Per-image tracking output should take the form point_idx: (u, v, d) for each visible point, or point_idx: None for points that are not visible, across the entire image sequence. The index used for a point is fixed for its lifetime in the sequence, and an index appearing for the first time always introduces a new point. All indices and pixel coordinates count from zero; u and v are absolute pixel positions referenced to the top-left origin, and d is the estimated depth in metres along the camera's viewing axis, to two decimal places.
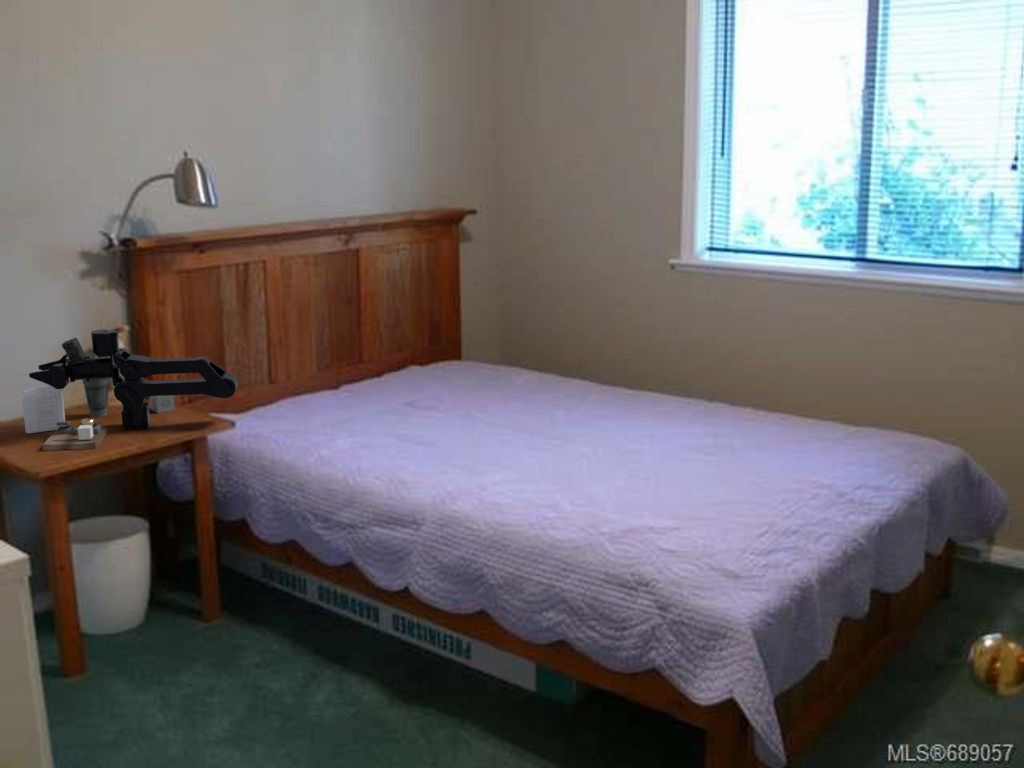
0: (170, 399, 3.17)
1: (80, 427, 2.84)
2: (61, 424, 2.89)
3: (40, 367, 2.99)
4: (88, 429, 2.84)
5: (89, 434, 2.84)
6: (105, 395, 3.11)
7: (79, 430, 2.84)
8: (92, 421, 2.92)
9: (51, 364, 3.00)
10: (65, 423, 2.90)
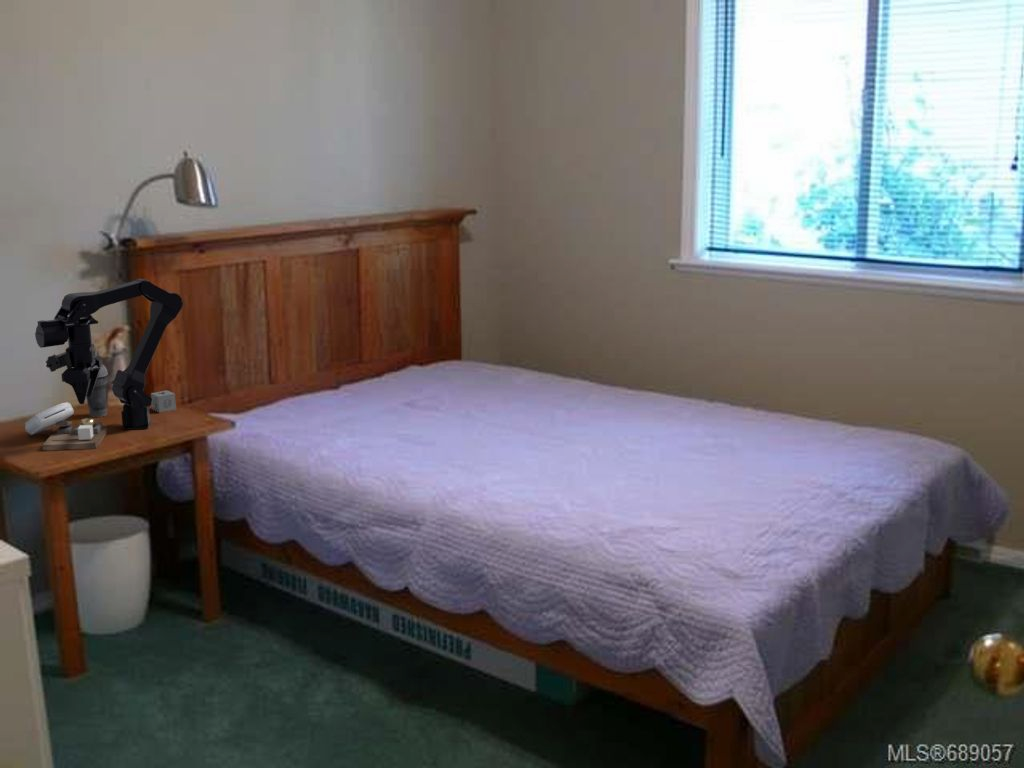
0: (171, 399, 3.17)
1: (80, 427, 2.84)
2: (61, 424, 2.89)
3: (88, 394, 2.94)
4: (88, 429, 2.84)
5: (89, 434, 2.84)
6: (105, 395, 3.11)
7: (79, 430, 2.84)
8: (92, 421, 2.92)
9: None
10: (65, 423, 2.90)
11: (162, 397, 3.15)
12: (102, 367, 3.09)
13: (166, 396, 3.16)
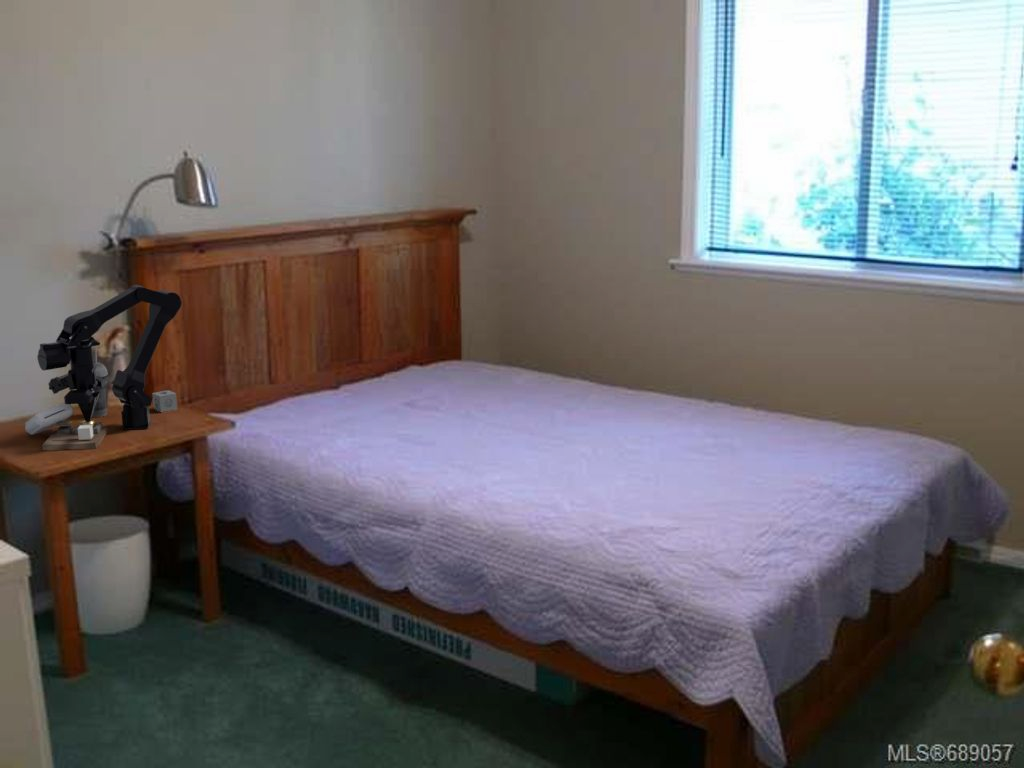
0: (173, 399, 3.17)
1: (80, 427, 2.84)
2: (61, 424, 2.89)
3: None
4: (88, 429, 2.84)
5: (89, 434, 2.84)
6: (105, 395, 3.11)
7: (79, 430, 2.84)
8: (92, 422, 2.92)
9: None
10: (65, 423, 2.90)
11: (163, 397, 3.15)
12: (102, 367, 3.09)
13: (167, 396, 3.16)
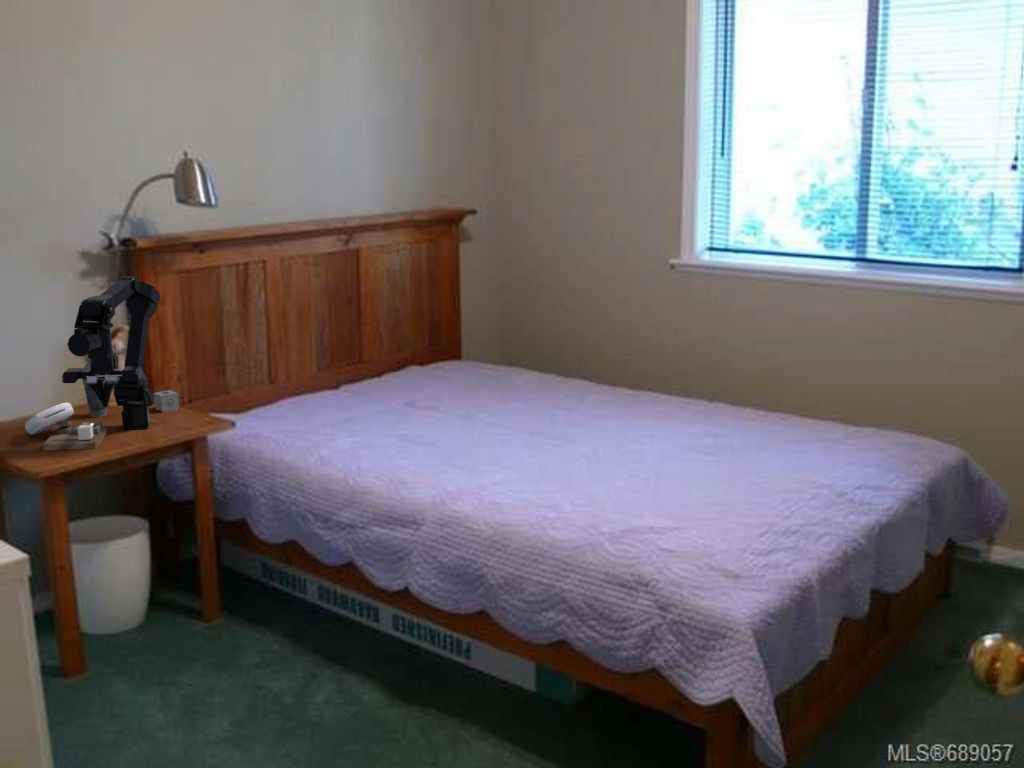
0: (174, 398, 3.17)
1: (80, 427, 2.84)
2: (61, 424, 2.89)
3: None
4: (88, 429, 2.84)
5: (89, 434, 2.84)
6: None
7: (79, 430, 2.84)
8: (93, 424, 2.92)
9: None
10: (65, 423, 2.90)
11: (165, 397, 3.15)
12: None
13: (169, 396, 3.16)
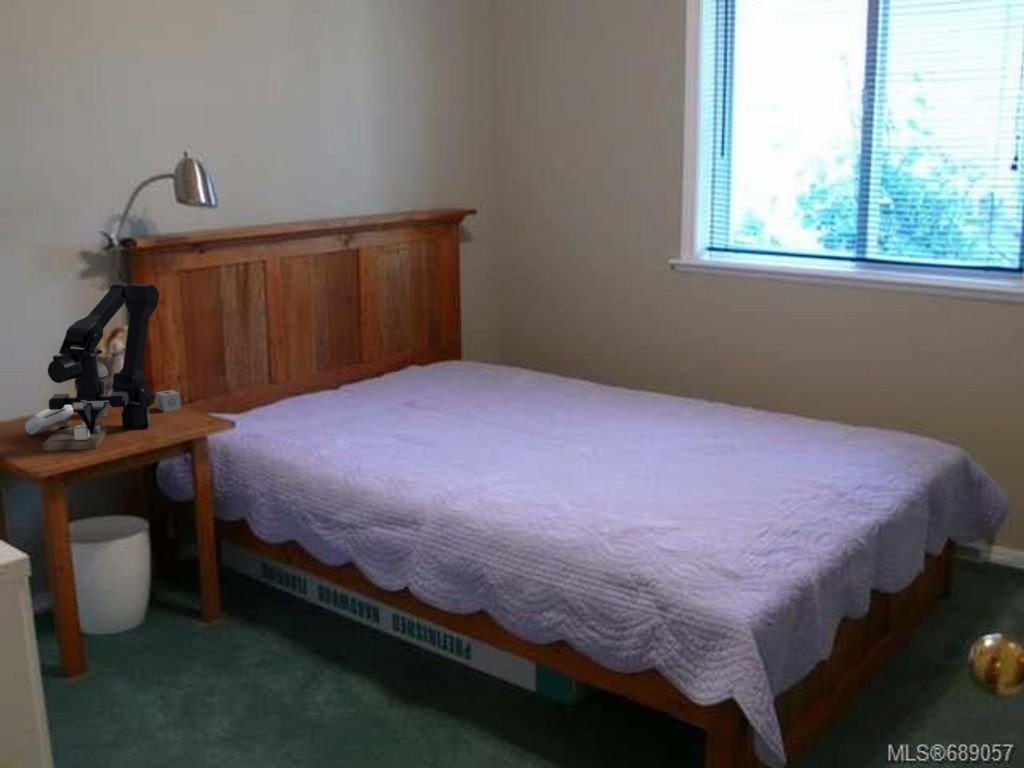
0: (176, 398, 3.18)
1: (76, 427, 2.84)
2: (61, 424, 2.90)
3: None
4: (84, 429, 2.84)
5: (85, 434, 2.84)
6: (105, 395, 3.11)
7: (75, 430, 2.84)
8: None
9: None
10: (65, 423, 2.90)
11: (167, 396, 3.16)
12: (102, 367, 3.09)
13: (171, 395, 3.16)
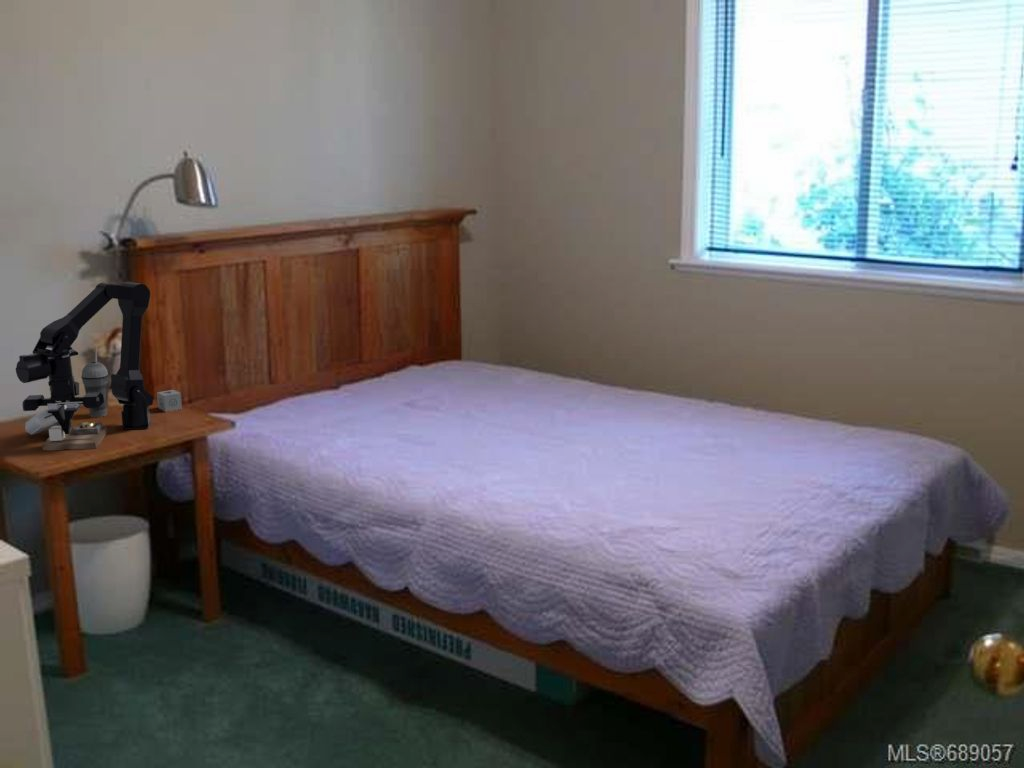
0: (177, 398, 3.18)
1: (51, 428, 2.83)
2: None
3: None
4: (59, 430, 2.83)
5: (60, 435, 2.83)
6: (105, 395, 3.11)
7: (50, 431, 2.83)
8: (93, 424, 2.92)
9: None
10: None
11: (168, 396, 3.16)
12: (102, 367, 3.09)
13: (172, 395, 3.17)
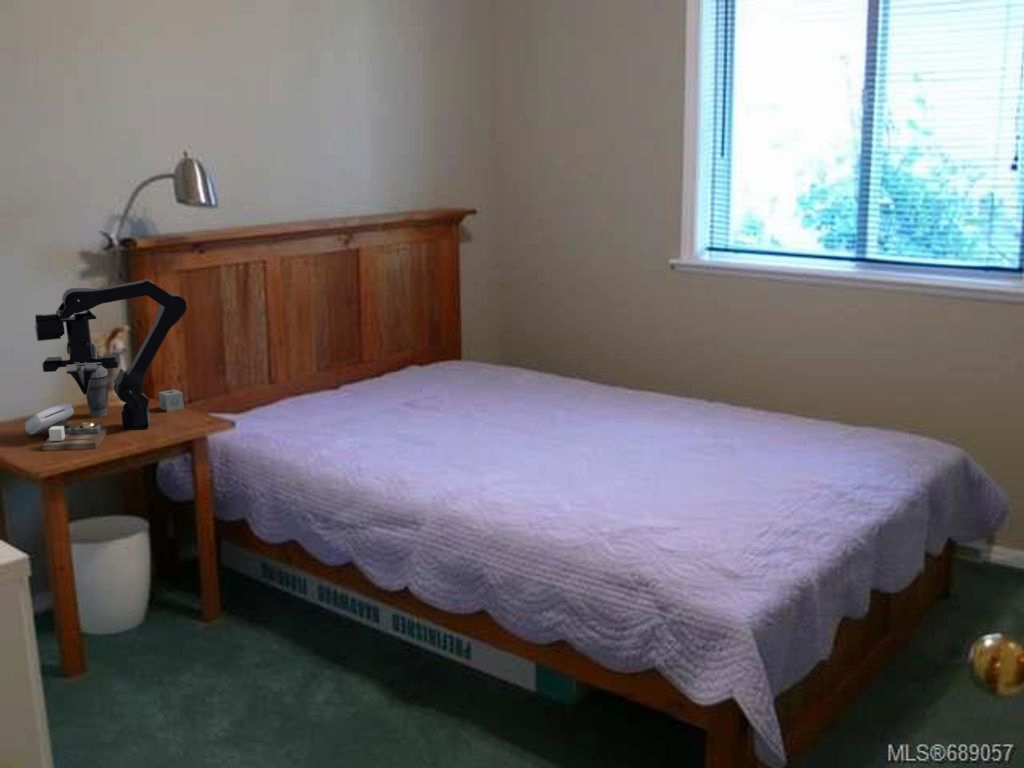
0: (179, 398, 3.18)
1: (51, 428, 2.84)
2: (61, 424, 2.90)
3: None
4: (59, 430, 2.83)
5: (60, 435, 2.83)
6: (105, 395, 3.11)
7: (50, 431, 2.83)
8: (93, 424, 2.92)
9: None
10: (65, 423, 2.90)
11: (170, 396, 3.16)
12: (102, 367, 3.09)
13: (174, 395, 3.17)
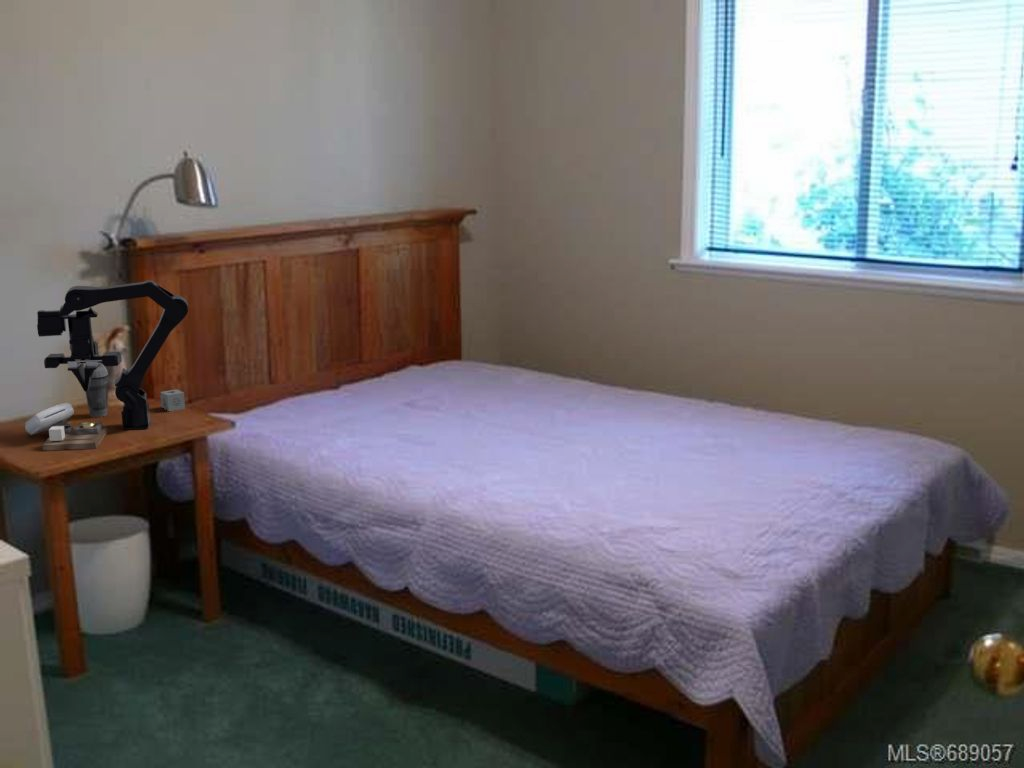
0: (181, 398, 3.18)
1: (51, 428, 2.84)
2: (61, 424, 2.90)
3: None
4: (59, 430, 2.83)
5: (60, 435, 2.83)
6: (105, 395, 3.11)
7: (50, 431, 2.83)
8: (93, 424, 2.92)
9: None
10: (65, 423, 2.90)
11: (171, 396, 3.16)
12: (102, 367, 3.09)
13: (175, 395, 3.17)
